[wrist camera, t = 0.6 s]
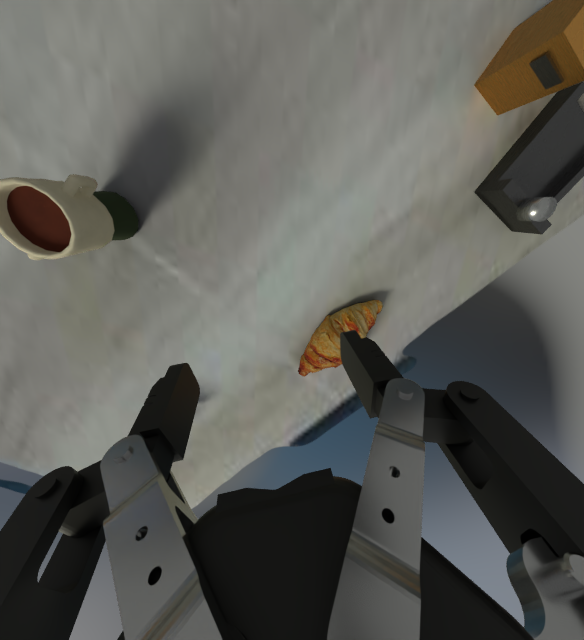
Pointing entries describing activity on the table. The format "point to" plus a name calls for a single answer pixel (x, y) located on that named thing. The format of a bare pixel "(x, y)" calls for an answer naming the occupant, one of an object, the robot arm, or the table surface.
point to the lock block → (537, 58)
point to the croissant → (337, 335)
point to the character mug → (62, 216)
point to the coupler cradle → (539, 166)
